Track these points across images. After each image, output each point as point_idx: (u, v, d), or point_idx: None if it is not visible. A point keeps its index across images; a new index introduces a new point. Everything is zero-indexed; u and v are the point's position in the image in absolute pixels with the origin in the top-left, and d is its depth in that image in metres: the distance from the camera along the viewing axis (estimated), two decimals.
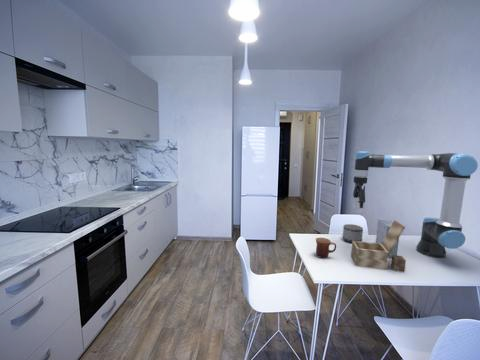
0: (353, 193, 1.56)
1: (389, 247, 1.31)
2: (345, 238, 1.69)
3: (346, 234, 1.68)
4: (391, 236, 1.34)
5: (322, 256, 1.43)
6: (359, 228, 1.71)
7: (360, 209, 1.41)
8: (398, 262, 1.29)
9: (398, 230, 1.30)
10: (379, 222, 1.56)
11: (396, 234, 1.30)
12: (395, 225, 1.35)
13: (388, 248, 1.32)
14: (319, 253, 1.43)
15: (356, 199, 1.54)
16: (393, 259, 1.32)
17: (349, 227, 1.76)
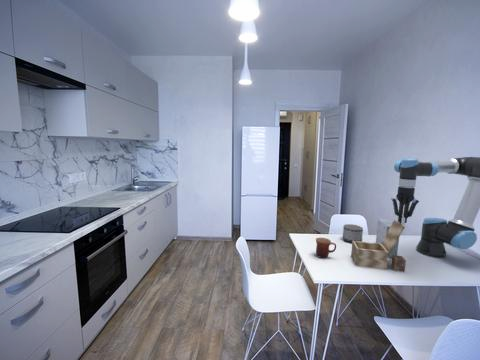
0: None
1: (389, 247, 1.31)
2: (345, 238, 1.69)
3: (346, 234, 1.68)
4: (391, 236, 1.34)
5: (322, 256, 1.43)
6: (359, 228, 1.71)
7: None
8: (398, 262, 1.29)
9: (398, 230, 1.30)
10: (379, 222, 1.56)
11: (396, 234, 1.30)
12: (395, 225, 1.35)
13: (388, 248, 1.32)
14: (319, 253, 1.43)
15: None
16: (393, 259, 1.32)
17: (349, 227, 1.76)
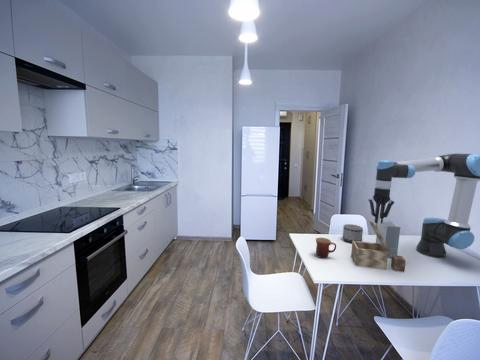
0: None
1: (385, 247, 1.32)
2: (345, 238, 1.69)
3: (346, 234, 1.68)
4: (378, 236, 1.35)
5: (322, 256, 1.43)
6: (359, 228, 1.71)
7: (376, 224, 1.35)
8: (398, 262, 1.29)
9: (375, 230, 1.32)
10: None
11: (378, 234, 1.32)
12: (371, 225, 1.38)
13: (386, 248, 1.32)
14: (319, 253, 1.43)
15: None
16: (393, 259, 1.32)
17: (349, 227, 1.76)
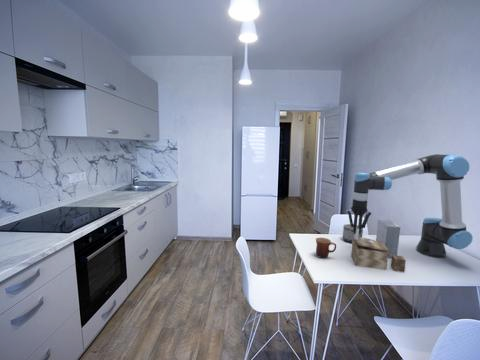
0: None
1: None
2: (345, 238, 1.69)
3: (346, 234, 1.68)
4: None
5: (322, 256, 1.43)
6: None
7: (355, 234, 1.39)
8: (398, 262, 1.29)
9: None
10: (379, 222, 1.56)
11: None
12: None
13: None
14: (319, 253, 1.43)
15: None
16: (393, 259, 1.32)
17: (349, 227, 1.76)
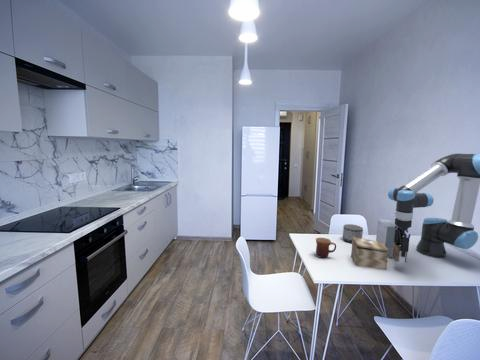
0: (394, 240, 1.36)
1: None
2: (345, 238, 1.69)
3: (346, 234, 1.68)
4: None
5: (322, 256, 1.43)
6: (359, 228, 1.71)
7: (401, 258, 1.28)
8: None
9: None
10: (379, 222, 1.56)
11: None
12: None
13: None
14: (319, 253, 1.43)
15: None
16: (395, 250, 1.31)
17: (349, 227, 1.76)
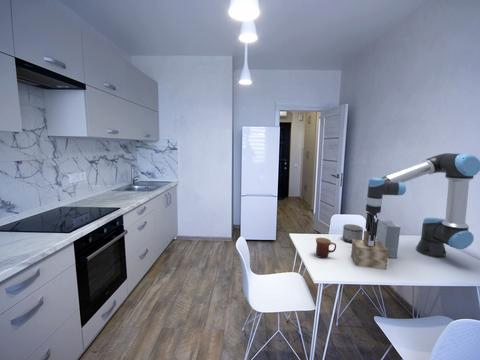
0: None
1: None
2: (345, 238, 1.69)
3: (346, 234, 1.68)
4: None
5: (322, 256, 1.43)
6: (359, 228, 1.71)
7: (370, 242, 1.34)
8: None
9: None
10: (379, 222, 1.56)
11: None
12: None
13: None
14: (319, 253, 1.43)
15: None
16: (365, 234, 1.37)
17: (349, 227, 1.76)
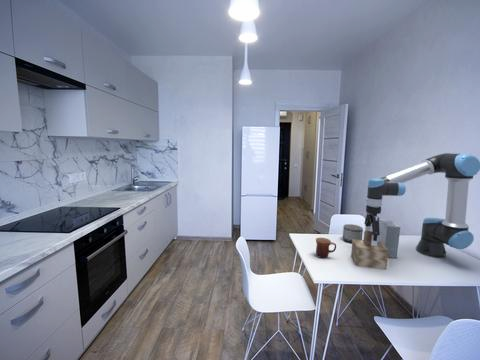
0: None
1: None
2: (345, 238, 1.69)
3: (346, 234, 1.68)
4: None
5: (322, 256, 1.43)
6: (359, 228, 1.71)
7: (374, 242, 1.30)
8: (369, 238, 1.34)
9: None
10: (379, 222, 1.56)
11: None
12: None
13: None
14: (319, 253, 1.43)
15: (368, 228, 1.43)
16: (365, 235, 1.37)
17: (349, 227, 1.76)
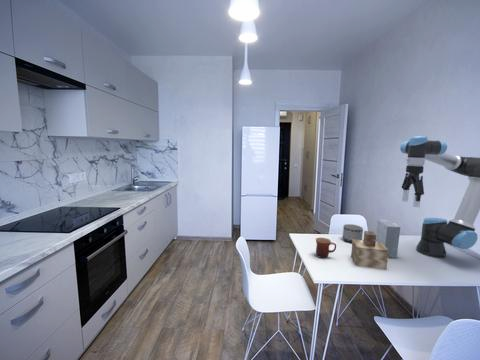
0: (402, 185, 1.38)
1: None
2: (345, 238, 1.69)
3: (346, 234, 1.68)
4: None
5: (322, 256, 1.43)
6: (359, 228, 1.71)
7: (416, 202, 1.23)
8: (369, 238, 1.34)
9: None
10: (379, 222, 1.56)
11: None
12: None
13: None
14: (319, 253, 1.43)
15: (406, 192, 1.35)
16: (365, 235, 1.37)
17: (349, 227, 1.76)
